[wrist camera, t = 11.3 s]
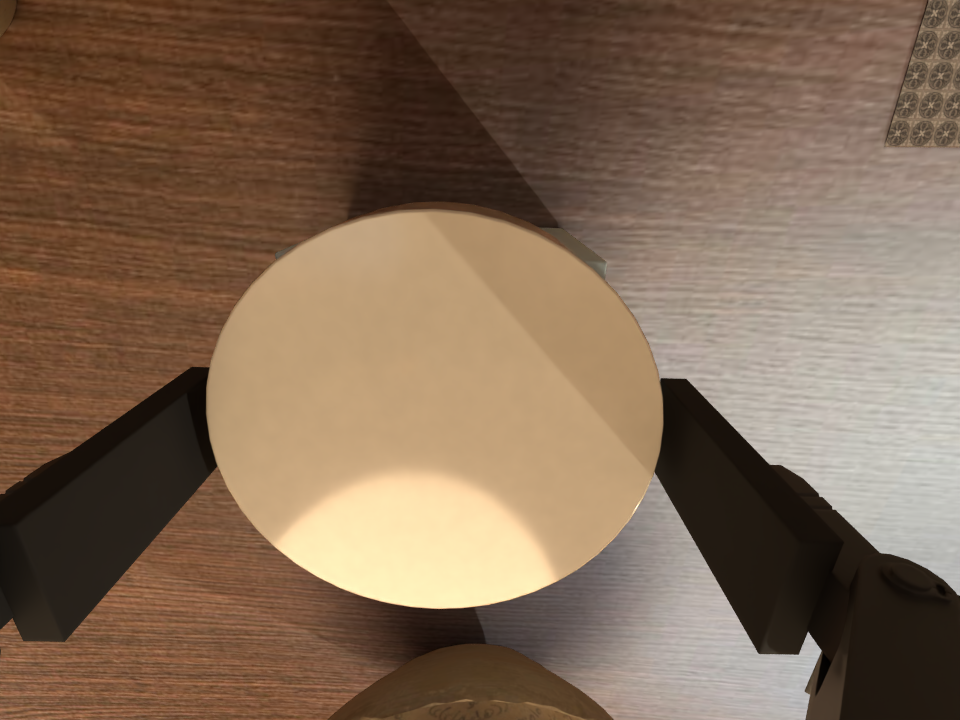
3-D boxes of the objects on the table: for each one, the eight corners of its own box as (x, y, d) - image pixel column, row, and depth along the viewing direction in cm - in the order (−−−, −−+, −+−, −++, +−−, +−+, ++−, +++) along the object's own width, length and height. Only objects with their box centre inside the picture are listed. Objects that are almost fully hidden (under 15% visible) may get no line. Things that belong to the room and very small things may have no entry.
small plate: (213, 194, 12) (156, 200, 10) (668, 207, 13) (708, 216, 10) (275, 548, 17) (244, 606, 15) (609, 555, 17) (628, 613, 15)
